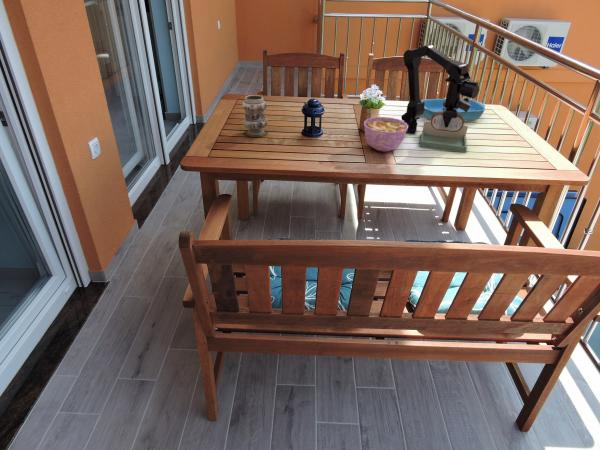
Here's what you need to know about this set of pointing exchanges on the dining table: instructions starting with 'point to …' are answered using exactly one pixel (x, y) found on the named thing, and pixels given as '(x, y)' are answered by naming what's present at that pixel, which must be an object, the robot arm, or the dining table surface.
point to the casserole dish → (437, 106)
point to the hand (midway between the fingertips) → (446, 126)
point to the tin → (453, 126)
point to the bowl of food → (384, 132)
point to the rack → (443, 138)
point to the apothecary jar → (254, 115)
